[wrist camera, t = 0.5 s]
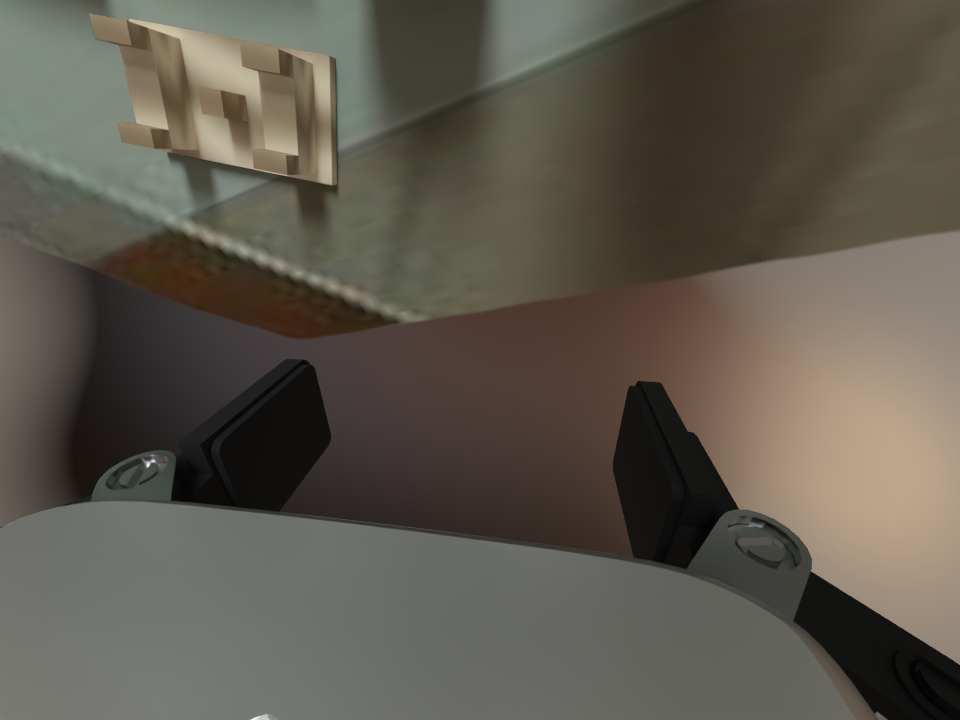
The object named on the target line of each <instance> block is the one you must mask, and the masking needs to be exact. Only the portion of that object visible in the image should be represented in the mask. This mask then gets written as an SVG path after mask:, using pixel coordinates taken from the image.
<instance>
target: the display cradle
mask: <svg viewBox="0 0 960 720" xmlns="http://www.w3.org/2000/svg"><path fill="white" fill-rule="evenodd" d="M89 15H90V19H91V23H92V27H93V31H94V35H95V39H98V40H102V41H105V42H109V43H112V44H116V45H119V50H120V54H121V58H122V62H123V67H124V71H125V75H126V79H127V84H128V88H129V92H130V96H131V101H132V105H133V109H134V113H135V118H136V122H137V124H136V123H125V122H117V124H118V128H119V132H120V136H121V140H122V142H125V143H130V144H135V145H140V146H145V147H150V148H155V149H157V150H159V151H164V152H169V153H174V154H179V155H184V156H189V157H194V158H199V159H204V160H209V161H214V162H219V163H224V164H229V165H234V166H239V167H244V168H249V169H254V170H259V171H264V172H269V173H274V174H279V175H284V176H288V177H293V178H298V179H303V180H308V181H313V182H318V183H323V184H328V185H337V145H336V80H335V58H333V57H331V56H327V55H322V54H317V53H311V52H306V51H301V50H295V49H290V48H284V47H279V46H274V45H268V44H263V43H257V42H252V41H247V40H241V39H236V38H230V37H225V36H220V35H214V34H209V33H204V32H198V31H193V30H187V29H182V28H177V27H171V26H166V25H160V24H155V23H150V22H144V21H139V20H134V19H129V21H126V20H121V19H116V18H111V17H105V16H100V15H94V14H89Z"/></svg>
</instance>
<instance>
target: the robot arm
mask: <svg viewBox="0 0 960 720" xmlns="http://www.w3.org/2000/svg"><path fill="white" fill-rule="evenodd" d="M330 440H331V433H330V429H329V425H328V421H327V417H326V413H325V408H324V404H323V400H322V396H321V392H320V388H319V384H318V380H317V375H316V371H315V368H314V367H313V366H312V365H310V363H309V362H308V361H306V360H297V359H286V360H284V361H283V362H282V363H280V364H279V365H278V366H276V367H275V368H274V369H272V370H271V371H270V372H269V373H267V374H266V375H265V376H263V377H262V378H261V379H259V380H258V381H257V382H256V383H254V384H253V385H252V386H250V387H249V388H248V389H247V390H245V391H244V392H243V393H241V394H240V395H239V396H237V397H236V398H235V399H234V400H232V401H231V402H230V403H228V404H227V405H226V406H225V407H223V408H222V409H221V410H219V411H218V412H217V413H216V414H214V415H213V416H212V417H210V418H209V419H208V420H206V421H205V422H204V423H203V424H201V425H200V426H199V427H197V428H196V429H195V430H194V431H192V432H191V433H190V434H188V435H187V436H186V437H184V438H183V439H182V440H181V441H179V442H178V444H179V446H180V448H181V450H182V452H183V453H182V454H181V455H180V456H178V457H177V458H176V456H175V455H174V454H173V453H172V452H170V451H163V450H161V451H151V452H147V453H142V454H139V455H137V456H134V457H131V458H129V459H127V460H125V461H123V462H121V463H119V464H117V465H116V466H114V467H113V468H111V469H110V470H108V471H107V472H106V473H105V474H104V475H103V476H102V477H101V478H100V480H99V481H98V483H97V484H96V487H95V490H94V492H93V495H91V496H88V497H85V498H82V499H79V500H77V501H74V502H71V503H68V504H65V505H63V506H60V507H57V508H53V509H49V510H45V511H42V512H39V513H36V514H32V515H29V516H26V517H23V518H21V519H18V520H16V521H14V522H12V523H9V524H8V525H6V526H3V527H0V720H960V665H959V664H957V663H956V662H954V661H953V660H952V659H950V658H948V657H947V656H945V655H943V654H942V653H940V652H939V651H937V650H936V649H934V648H932V647H931V646H929V645H928V644H926V643H924V642H923V641H921V640H920V639H918V638H916V637H915V636H913V635H912V634H910V633H908V632H907V631H905V630H904V629H902V628H900V627H899V626H897V625H896V624H894V623H892V622H891V621H889V620H888V619H886V618H884V617H882V616H881V615H880V614H878V613H876V612H875V611H873V610H872V609H870V608H868V607H867V606H865V605H864V604H862V603H860V602H859V601H857V600H856V599H854V598H853V597H851V596H849V595H848V594H846V593H844V592H843V591H841V590H839V589H838V588H837V587H835V586H833V585H832V584H830V583H829V582H827V581H825V580H824V579H822V578H821V577H819V576H817V575H816V574H814V573H813V572H811V569H812V559H811V556H810V553H809V551H808V549H807V547H806V546H805V545H804V543H803V542H802V541H801V540H800V538H799V537H798V536H797V535H795V534H794V533H793V532H792V531H791V530H790V529H788V528H787V527H786V526H784V525H782V524H781V523H779V522H778V521H776V520H775V519H773V518H770V517H768V516H766V515H763V514H761V513H758V512H754V511H750V510H739V508H738V507H737V505H736V503H735V501H734V500H733V498H732V496H731V495H730V493H729V491H728V489H727V488H726V486H725V484H724V482H723V481H722V479H721V477H720V475H719V474H718V472H717V470H716V469H715V467H714V465H713V463H712V461H711V460H710V458H709V456H708V455H707V453H706V451H705V449H704V448H703V446H702V444H701V442H700V441H699V439H698V437H697V436H696V435H695V434H694V433H692V432H688V431H687V429H686V428H685V426H684V424H683V422H682V420H681V418H680V417H679V415H678V413H677V411H676V409H675V407H674V406H673V404H672V402H671V400H670V398H669V397H668V395H667V393H666V391H665V389H664V388H663V386H662V384H661V383H659V382H644V381H638V382H637V383H636V386H630V387H629V389H628V392H627V397H626V402H625V407H624V411H623V416H622V421H621V426H620V431H619V435H618V440H617V445H616V450H615V455H614V460H613V471H614V476H615V481H616V485H617V489H618V493H619V498H620V502H621V506H622V510H623V514H624V518H625V523H626V527H627V531H628V535H629V540H630V543H631V548H632V552H633V556H634V558H632V557H627V556H621V555H615V554H610V553H603V552H596V551H589V550H582V549H575V548H567V547H560V546H553V545H546V544H538V543H530V542H523V541H515V540H506V539H498V538H490V537H483V536H474V535H466V534H459V533H451V532H443V531H434V530H427V529H419V528H410V527H401V526H394V525H386V524H377V523H369V522H360V521H352V520H344V519H335V518H327V517H319V516H310V515H301V514H292V513H284V512H279V511H280V510H281V508H282V507H283V506H284V504H285V503H286V502H287V500H288V499H289V498H290V496H291V495H292V494H293V492H294V491H295V490H296V488H297V487H298V486H299V484H300V483H301V482H302V480H303V479H304V478H305V476H306V475H307V474H308V472H309V471H310V470H311V468H312V467H313V466H314V464H315V463H316V462H317V460H318V459H319V458H320V456H321V455H322V454H323V452H324V451H325V450H326V448H327V447H328V445H329V443H330Z"/></svg>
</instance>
